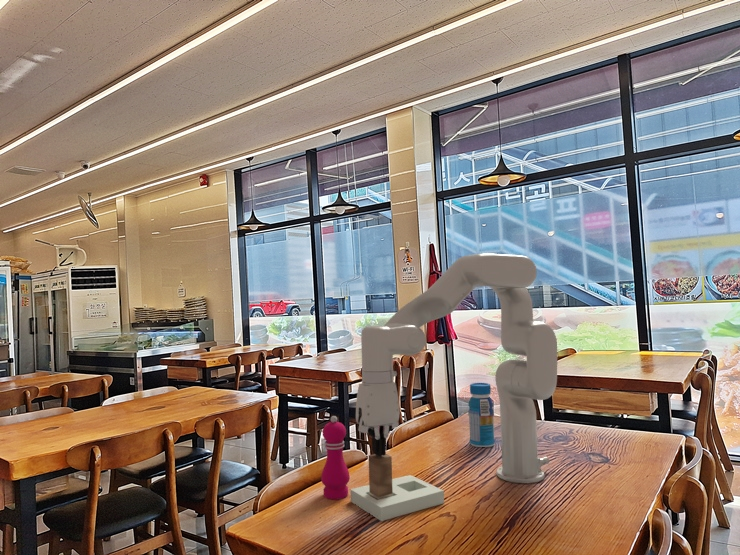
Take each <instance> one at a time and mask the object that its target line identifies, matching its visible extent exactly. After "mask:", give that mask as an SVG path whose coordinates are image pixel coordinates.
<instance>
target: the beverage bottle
mask: <svg viewBox="0 0 740 555" xmlns="http://www.w3.org/2000/svg"><path fill="white" fill-rule="evenodd" d="M469 389H470V390H469V393H470V395H471V397H470V399H469V401H468V407H469V409H468V412H467V414H468V420H469V422H468V423H469V424H468V425H469V444H470V445H471V446H472V447H476V448H482V447H485V448H491V447H493V446H495V444H496V441H495V424H494V423H495V422H494V420H495V418H494V416H495V411H494V408H493V407H494V402H493V400H492V398H491V396H490V395H491V392H492V391H491V390H492V387H491V384H490V383H487V382H472V383H470V384H469Z"/></svg>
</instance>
